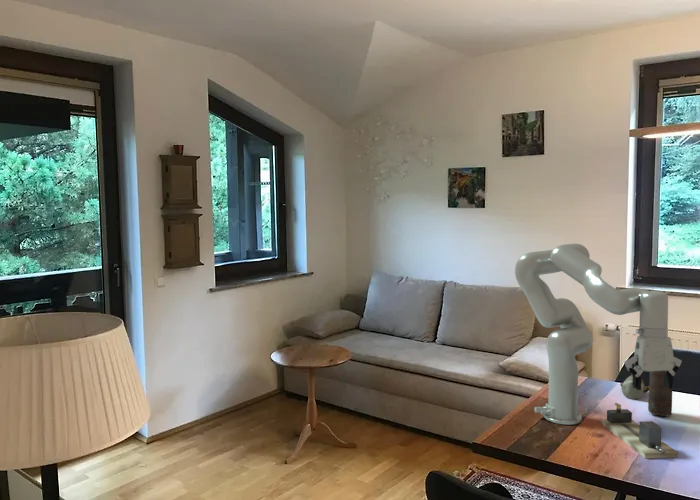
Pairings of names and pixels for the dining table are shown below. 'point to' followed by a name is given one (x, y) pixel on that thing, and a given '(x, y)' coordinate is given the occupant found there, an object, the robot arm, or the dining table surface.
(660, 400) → the candle
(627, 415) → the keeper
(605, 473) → the dining table surface
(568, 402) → the robot arm
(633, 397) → the ceramic sculpture
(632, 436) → the rail board
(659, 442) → the dark grey block
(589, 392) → the dining table surface
